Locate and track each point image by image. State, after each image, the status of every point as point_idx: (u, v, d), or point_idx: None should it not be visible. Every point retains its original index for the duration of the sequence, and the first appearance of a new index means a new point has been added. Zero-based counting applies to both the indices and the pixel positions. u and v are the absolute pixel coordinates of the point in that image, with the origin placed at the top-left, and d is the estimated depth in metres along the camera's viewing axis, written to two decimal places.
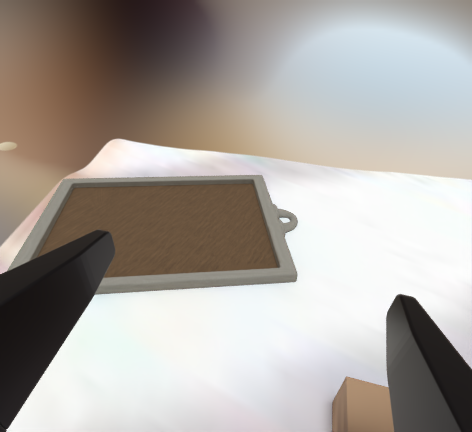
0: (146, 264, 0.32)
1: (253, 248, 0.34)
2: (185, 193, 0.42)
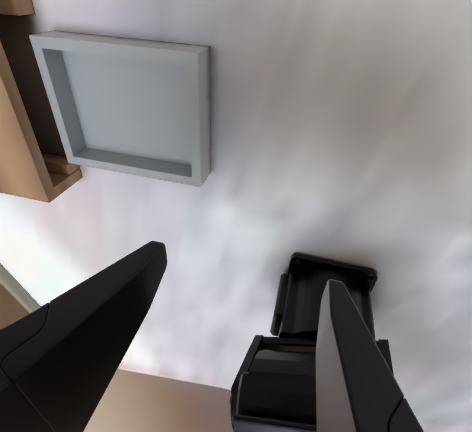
0: None
1: None
2: None
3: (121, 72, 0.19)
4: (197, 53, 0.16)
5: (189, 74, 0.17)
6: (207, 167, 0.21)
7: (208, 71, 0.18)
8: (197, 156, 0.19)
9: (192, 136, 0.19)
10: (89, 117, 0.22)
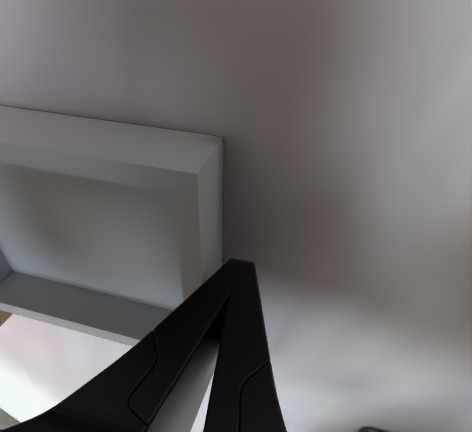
0: None
1: None
2: None
3: (48, 173, 0.10)
4: (196, 173, 0.07)
5: (178, 210, 0.07)
6: None
7: (220, 183, 0.09)
8: None
9: None
10: (7, 233, 0.12)
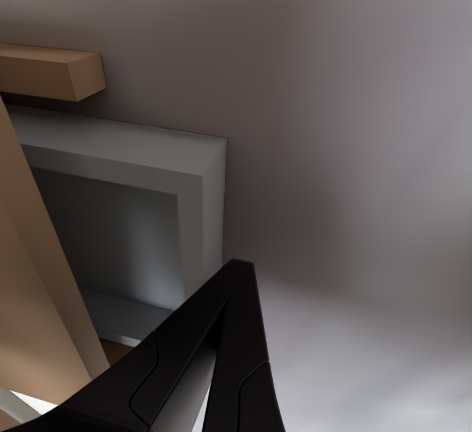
0: None
1: None
2: None
3: (48, 172, 0.10)
4: (201, 175, 0.07)
5: (182, 212, 0.07)
6: None
7: (222, 184, 0.09)
8: None
9: None
10: None
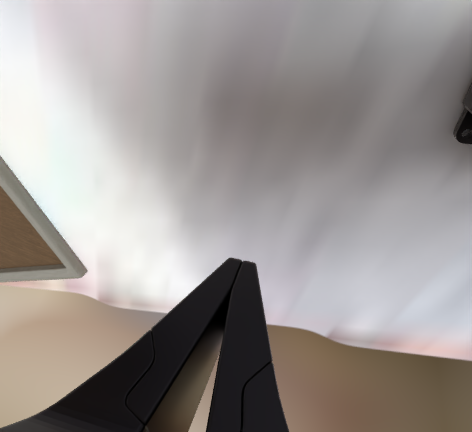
0: None
1: None
2: None
3: None
4: None
5: None
6: None
7: None
8: None
9: None
10: None
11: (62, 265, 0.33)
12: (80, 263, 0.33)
